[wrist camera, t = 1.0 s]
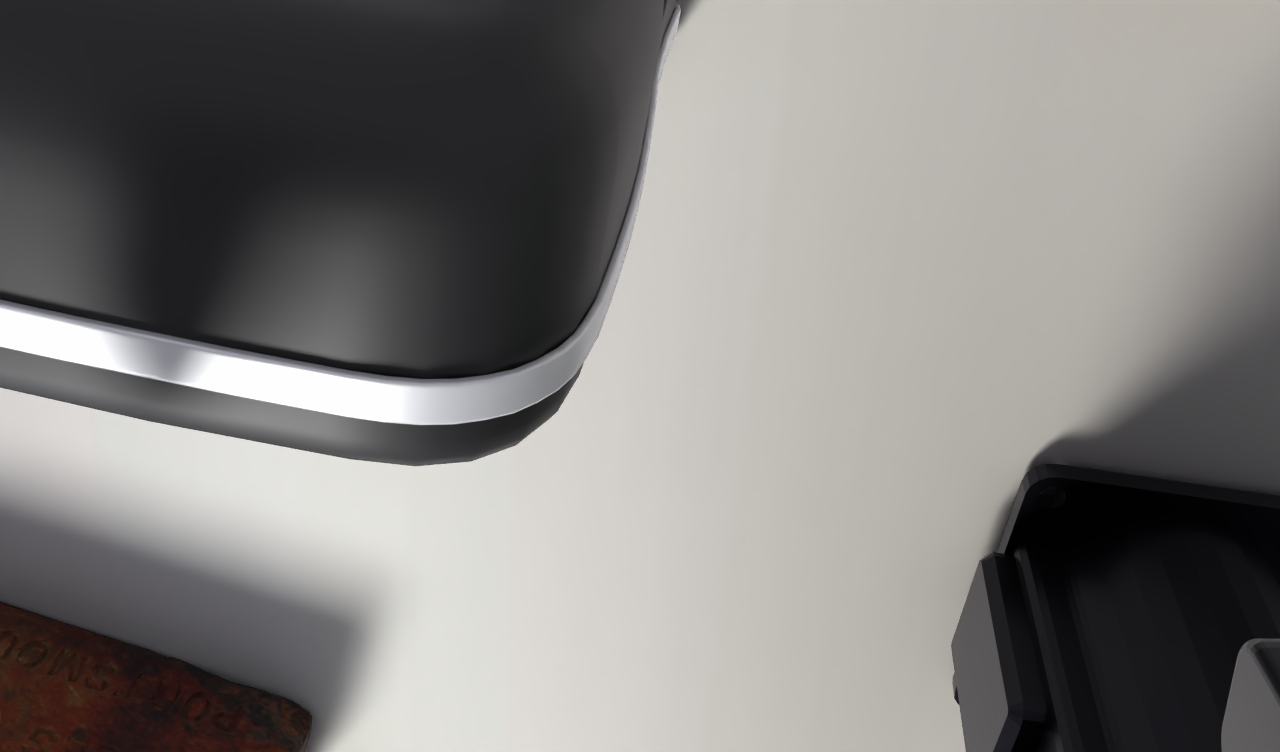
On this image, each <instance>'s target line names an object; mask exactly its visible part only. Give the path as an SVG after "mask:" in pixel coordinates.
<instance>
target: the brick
mask: <svg viewBox="0 0 1280 752" xmlns="http://www.w3.org/2000/svg"><path fill="white" fill-rule="evenodd" d="M311 723H312V716H311V715H310V714H309V712H307V711H306V710H305V709H303V708H302V707H301V706H300V705H298V704H297V703H295V702H293V701H291V700H288V699H286V698H283V697H279V696H275V695H271V694H269V693H266V692H264V691H261V690H258V689H255V688H251V687H247V686H243V685H239V684H235V683H232V682H229V681H227V680H225V679H223V678H220V677H218V676H216V675H213V674H210V673H208V672H205V671H203V670H201V669H200V668H198V667H195V666H193V665H190V664H187V663H185V662H183V661H180V660H178V659H174V658H167V657H164V656H162V655H159V654H156V653H154V652H151V651H149V650H145V649H142V648H139V647H135V646H132V645H128V644H125V643H122V642H119V641H116V640H112V639H109V638H106V637H103V636H100V635H98V634H95V633H93V632H90V631H87V630H84V629H81V628H78V627H75V626H71V625H68V624H65V623H62V622H59V621H55V620H52V619H49V618H46V617H42V616H39V615H36V614H33V613H30V612H27V611H24V610H21V609H17V608H14V607H11V606H8V605H5V604H2V603H0V752H305V750H306V746H307V742H308V739H309V735H310V732H311Z"/></svg>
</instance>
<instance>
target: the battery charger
mask: <svg viewBox="0 0 1280 752" xmlns="http://www.w3.org/2000/svg"><path fill="white" fill-rule="evenodd" d="M680 13H681V8H680V5H679V4H677V0H0V387H1V388H5V389H10V390H14V391H18V392H23V393H27V394H32V395H36V396H40V397H45V398H49V399H54V400H58V401H63V402H67V403H71V404H76V405H80V406H85V407H89V408H94V409H98V410H102V411H107V412H111V413H116V414H120V415H125V416H129V417H134V418H138V419H142V420H147V421H151V422H157V423H162V424H167V425H172V426H178V427H183V428H188V429H194V430H199V431H204V432H209V433H215V434H220V435H225V436H231V437H236V438H241V439H246V440H252V441H257V442H262V443H268V444H273V445H278V446H284V447H289V448H294V449H299V450H305V451H310V452H315V453H321V454H326V455H331V456H337V457H342V458H347V459H354V460H364V461H373V462H382V463H391V464H400V465H410V466H423V465H434V464H446V463H457V462H469V461H473V460H476V459H479V458H482V457H484V456H487V455H490V454H493V453H496V452H498V451H501V450H504V449H507V448H509V447H512V446H515V445H517V444H518V443H519V442H521V441H522V440H523V439H524V438H526V437H527V436H528V435H529V434H531V433H532V432H533V431H534V430H536V429H537V428H538V427H539V426H541V425H542V424H543V423H545V422H546V421H547V420H548V419H549V418H551V417H552V416H553V415H554V414H555V413H556V412H557V411H558V409H559V408H560V406H561V404H562V403H563V401H564V399H565V398H566V396H567V394H568V393H569V391H570V389H571V388H572V386H573V384H574V383H575V381H576V380H577V378H578V376H579V374H580V371H581V369H582V366H583V363H584V361H585V359H586V358H587V356H588V354H589V352H590V350H591V348H592V347H593V345H594V343H595V341H596V340H597V338H598V336H599V333H600V330H601V327H602V325H603V322H604V319H605V316H606V313H607V311H608V308H609V305H610V302H611V300H612V296H613V293H614V290H615V287H616V284H617V281H618V278H619V275H620V272H621V269H622V266H623V263H624V259H625V256H626V253H627V249H628V246H629V243H630V239H631V236H632V232H633V228H634V223H635V219H636V215H637V211H638V206H639V202H640V198H641V193H642V187H643V182H644V177H645V171H646V166H647V160H648V154H649V148H650V142H651V135H652V129H653V123H654V116H655V109H656V102H657V91H658V83H659V80H660V78H661V74H662V70H663V66H664V63H665V60H666V58H667V55H668V53H669V50H670V48H671V45H672V43H673V40H674V38H675V36H676V34H677V29H678V24H679V18H680Z"/></svg>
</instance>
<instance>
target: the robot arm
mask: <svg viewBox="0 0 1280 752" xmlns="http://www.w3.org/2000/svg"><path fill="white" fill-rule="evenodd" d="M1052 487H1056V488H1059V489H1060V490H1059V491H1058V492H1056V493H1054V494H1052V495H1043V494H1040V493H1041V491H1043V490H1045V489H1047V488H1052ZM951 647H952V655H953V662H954V669H955V673H954V676H953V691H954V698H955V700H956V701H957V703H958V704H959V705H960V712H961V719H962V726H963V733H964V740H965V748H966V752H1280V496H1275V495H1268V494H1261V493H1254V492H1247V491H1240V490H1233V489H1226V488H1219V487H1212V486H1205V485H1198V484H1191V483H1184V482H1177V481H1170V480H1163V479H1156V478H1149V477H1142V476H1135V475H1128V474H1121V473H1114V472H1107V471H1100V470H1093V469H1086V468H1079V467H1072V466H1065V465H1058V464H1044V465H1041V466H1038V467H1035V468H1033V469H1032V470H1031V471H1029V472H1028V473H1027V474H1026V475H1025V477H1024V478H1023V480H1022V482H1021V485H1020V488H1019V491H1018V493H1017V496H1016V499H1015V502H1014V505H1013V508H1012V510H1011V513H1010V516H1009V519H1008V522H1007V525H1006V528H1005V530H1004V533H1003V536H1002V539H1001V542H1000V545H999V547H998V550H997V553H996V552H990V553H989V554H988V555H987V556H985V557H984V558H983V559H982V560H980V562H979V564H978V567H977V570H976V573H975V576H974V579H973V582H972V585H971V588H970V591H969V594H968V596H967V599H966V602H965V605H964V608H963V611H962V614H961V617H960V620H959V623H958V626H957V629H956V632H955V634H954V637H953V640H952V645H951Z"/></svg>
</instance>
